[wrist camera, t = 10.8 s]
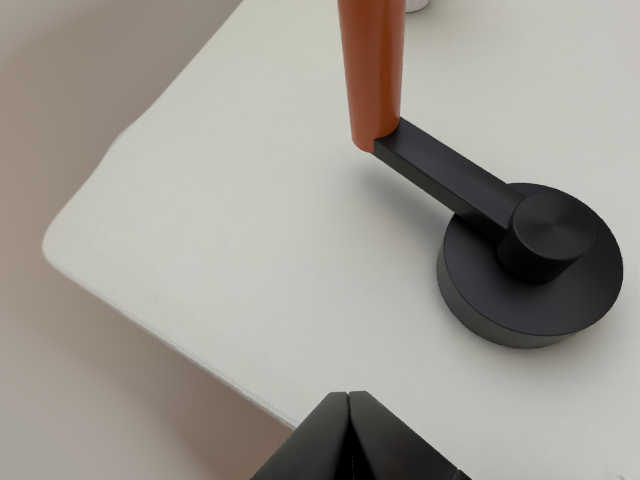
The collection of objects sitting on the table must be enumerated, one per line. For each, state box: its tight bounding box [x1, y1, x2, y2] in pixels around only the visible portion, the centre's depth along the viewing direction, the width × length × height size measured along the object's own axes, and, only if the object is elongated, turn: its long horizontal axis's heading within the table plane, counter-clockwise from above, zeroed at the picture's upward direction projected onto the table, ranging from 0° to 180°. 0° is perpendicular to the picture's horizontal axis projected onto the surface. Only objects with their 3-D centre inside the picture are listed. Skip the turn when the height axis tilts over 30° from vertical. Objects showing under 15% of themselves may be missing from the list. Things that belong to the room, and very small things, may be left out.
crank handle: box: [337, 0, 596, 282], centre depth 16 cm, size 13×3×12 cm, turn 44°
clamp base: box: [437, 183, 623, 348], centre depth 21 cm, size 8×8×3 cm
